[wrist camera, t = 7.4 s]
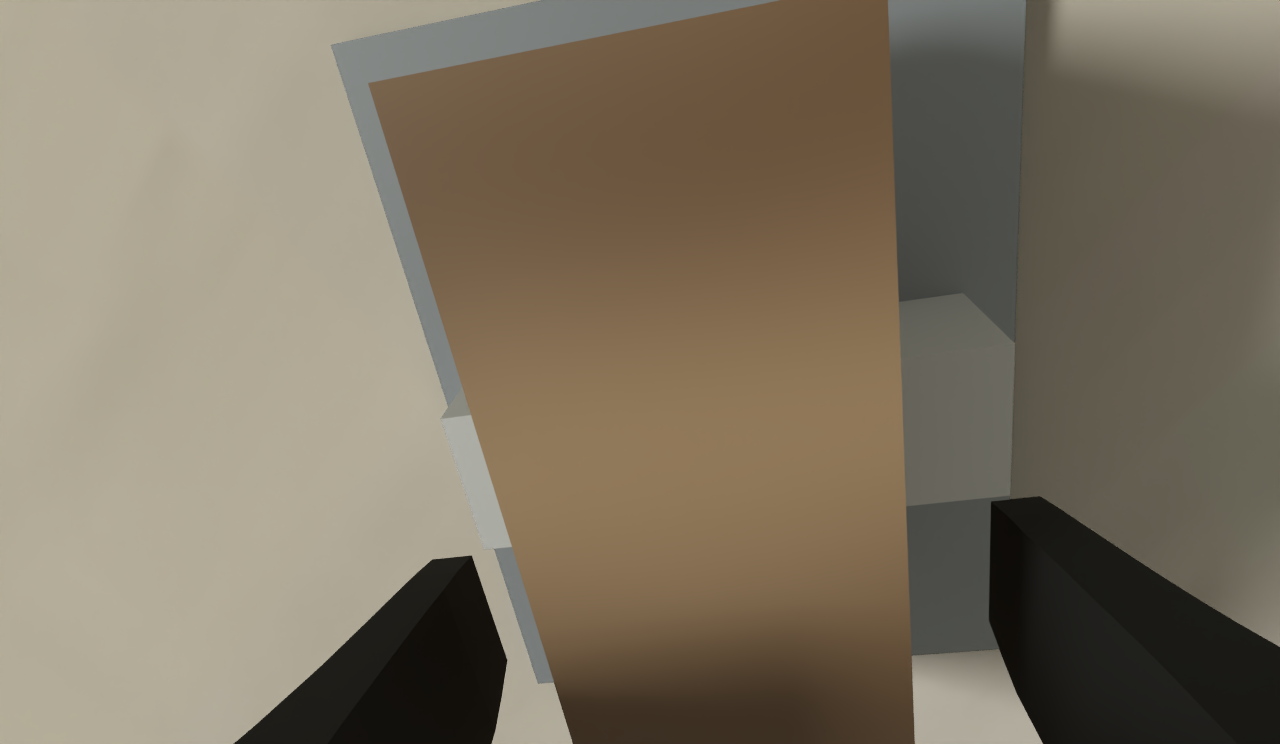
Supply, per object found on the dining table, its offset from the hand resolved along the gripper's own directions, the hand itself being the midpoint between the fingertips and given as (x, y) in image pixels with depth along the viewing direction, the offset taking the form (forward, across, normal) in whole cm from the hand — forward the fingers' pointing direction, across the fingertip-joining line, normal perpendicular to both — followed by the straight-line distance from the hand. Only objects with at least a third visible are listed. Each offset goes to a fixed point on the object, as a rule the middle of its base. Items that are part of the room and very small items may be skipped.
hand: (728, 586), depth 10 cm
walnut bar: (+3, 0, 0) cm, 3 cm away
